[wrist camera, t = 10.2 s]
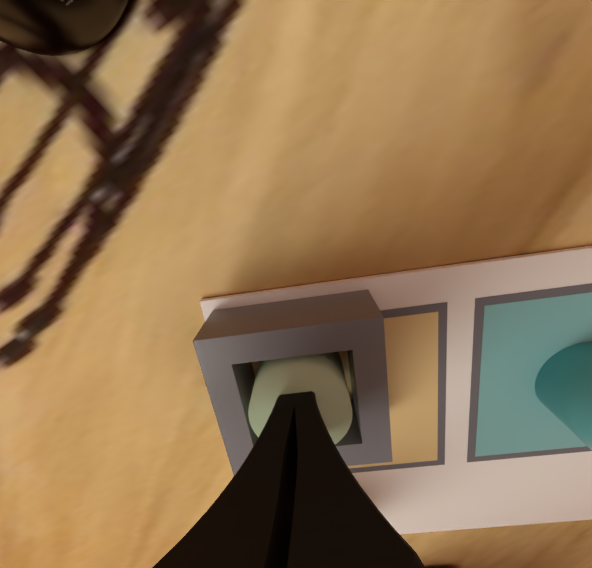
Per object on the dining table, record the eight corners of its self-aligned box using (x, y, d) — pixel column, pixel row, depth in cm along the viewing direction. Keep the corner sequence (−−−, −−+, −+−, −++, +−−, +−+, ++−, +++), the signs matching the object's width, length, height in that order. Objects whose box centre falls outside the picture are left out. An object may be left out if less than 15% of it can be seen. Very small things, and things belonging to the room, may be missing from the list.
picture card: (667, 507, 18) (674, 514, 18) (269, 539, 20) (268, 545, 19) (777, 219, 12) (790, 221, 12) (201, 299, 14) (199, 301, 14)
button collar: (376, 410, 16) (392, 461, 13) (246, 424, 16) (234, 476, 14) (366, 286, 14) (383, 316, 11) (214, 307, 14) (192, 341, 11)
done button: (346, 394, 15) (356, 449, 12) (267, 403, 15) (259, 459, 12) (337, 324, 14) (347, 365, 11) (251, 335, 14) (238, 378, 11)
